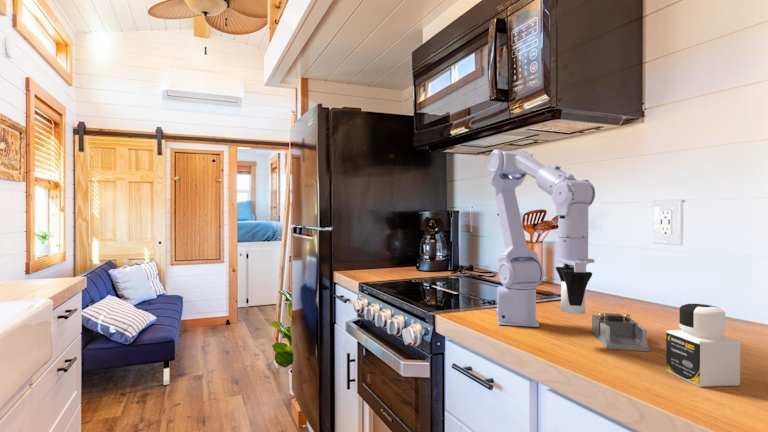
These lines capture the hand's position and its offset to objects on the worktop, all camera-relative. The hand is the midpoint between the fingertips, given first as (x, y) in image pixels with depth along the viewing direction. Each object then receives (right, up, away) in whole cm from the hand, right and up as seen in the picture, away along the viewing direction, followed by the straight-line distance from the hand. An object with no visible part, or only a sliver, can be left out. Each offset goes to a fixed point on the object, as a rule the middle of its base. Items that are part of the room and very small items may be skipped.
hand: (572, 302), depth 89 cm
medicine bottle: (+13, -9, -19) cm, 24 cm away
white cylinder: (0, -2, 0) cm, 2 cm away
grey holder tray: (+11, -9, +2) cm, 14 cm away
